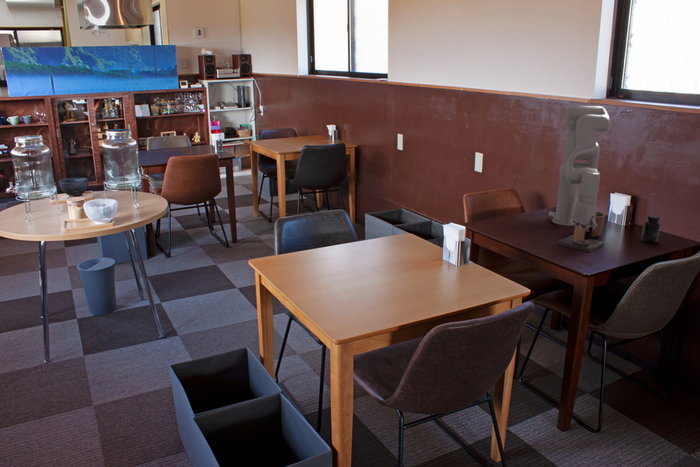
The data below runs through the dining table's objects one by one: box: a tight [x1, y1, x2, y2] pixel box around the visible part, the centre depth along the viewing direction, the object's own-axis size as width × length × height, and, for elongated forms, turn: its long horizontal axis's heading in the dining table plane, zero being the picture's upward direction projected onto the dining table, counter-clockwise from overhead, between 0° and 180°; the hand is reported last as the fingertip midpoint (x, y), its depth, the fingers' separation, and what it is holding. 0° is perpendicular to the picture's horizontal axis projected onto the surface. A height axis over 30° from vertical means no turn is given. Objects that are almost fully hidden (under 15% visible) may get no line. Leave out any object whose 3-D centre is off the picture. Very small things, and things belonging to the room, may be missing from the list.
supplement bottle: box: [640, 214, 661, 244], centre depth 255 cm, size 7×7×12 cm
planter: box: [591, 210, 606, 238], centre depth 263 cm, size 12×12×11 cm
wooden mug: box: [573, 224, 590, 241], centre depth 248 cm, size 8×7×6 cm
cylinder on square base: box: [557, 224, 605, 253], centre depth 248 cm, size 15×15×10 cm
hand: (581, 236), depth 249 cm, fingers closed on wooden mug, 7 cm apart
